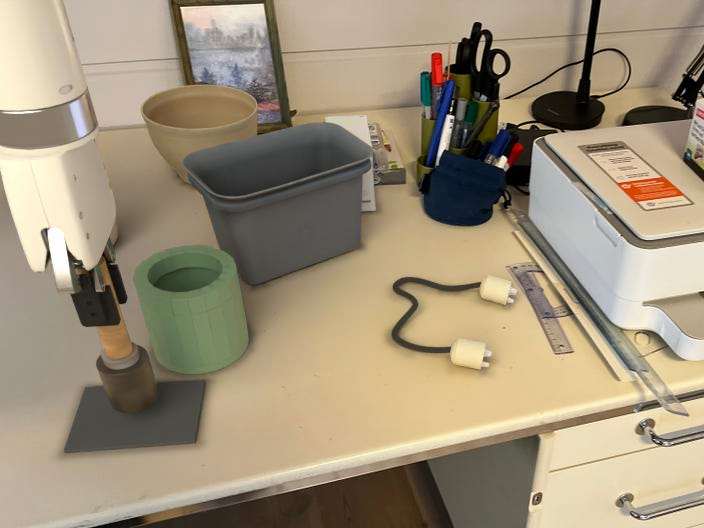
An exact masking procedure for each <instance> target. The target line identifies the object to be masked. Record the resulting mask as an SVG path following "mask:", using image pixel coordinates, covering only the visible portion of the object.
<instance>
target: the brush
mask: <svg viewBox="0 0 704 528" xmlns="http://www.w3.org/2000/svg"><path fill="white" fill-rule="evenodd" d="M99 265H100V268H101V272H102V275H103V278H104V282H105V285H110V286H111V289H112V292H113V296H114V299H115V302H116V305H117V308H118V311H119V314H120V317H121V321H120V324H119V325H116V326H98V327H95V328H96V331H97V333H98V337H99V339H100V342H101V345H102V350H101V353H100V354H99V356H97V359H96V362H95V367H96V370H97V372H98V376H99V379H100V380H101V383H102V386H104V389H105V392H106V394H107V397H108V400H109V403H110V405H111V407H112V408H113V409H114V410H116V411H118V412H121V413H135V412H139V411H142V410H145V409H147V408H148V407H150V406H151V405H153V404H154V403H155V402H156V400H157V399H158V397H159V389H158V386H157V383H158V381H157V379H156V376H155V373H154V369H153V366H152V363H151V359H150V356H149V353H148V351H147V349H146V348H145V347H143V346H142V345H139V344H137V343H135V342H134V341H131V338H130V334H129V331H128V328H127V325H126V322H125V318H124V315H123V312H122V309H121V305H120V304H119V302H118V299H117V296H116V293H115V290H114V287H113V284H112V280H111V277H110V274H109V271H108V268H107V265H106V262H105V258H104V257H103V256H101V258H100V260H99ZM75 270H76V274H88V275H90V272H89V270H86V269H75ZM90 276H91V275H90Z"/></svg>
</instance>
